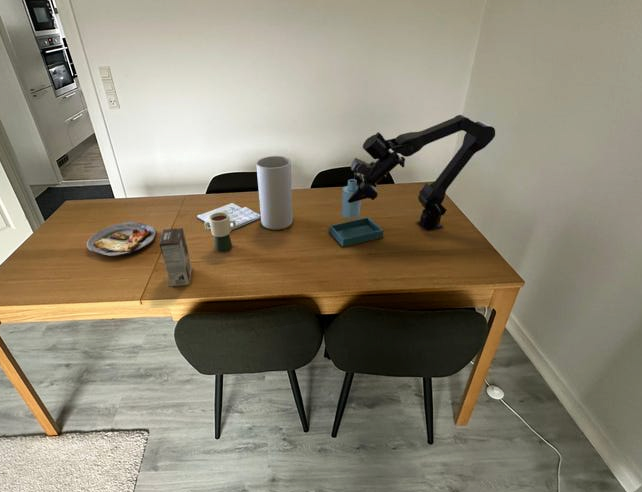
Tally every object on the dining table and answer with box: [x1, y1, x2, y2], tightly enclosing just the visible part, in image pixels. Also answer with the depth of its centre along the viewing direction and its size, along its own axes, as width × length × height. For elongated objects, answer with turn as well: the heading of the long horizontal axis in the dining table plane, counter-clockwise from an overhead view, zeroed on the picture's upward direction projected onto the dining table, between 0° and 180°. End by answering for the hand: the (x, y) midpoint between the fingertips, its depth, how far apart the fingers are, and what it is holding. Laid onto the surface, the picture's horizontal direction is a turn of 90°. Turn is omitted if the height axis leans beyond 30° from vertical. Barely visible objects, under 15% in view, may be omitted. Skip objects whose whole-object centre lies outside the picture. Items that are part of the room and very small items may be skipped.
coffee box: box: [158, 227, 193, 287], centre depth 119 cm, size 9×6×16 cm
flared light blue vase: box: [341, 178, 362, 219], centre depth 135 cm, size 6×6×13 cm
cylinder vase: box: [255, 155, 294, 231], centre depth 143 cm, size 12×12×25 cm
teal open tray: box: [328, 216, 384, 248], centre depth 138 cm, size 16×11×3 cm
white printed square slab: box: [197, 202, 261, 231], centre depth 155 cm, size 19×20×2 cm
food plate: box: [86, 221, 158, 257], centre depth 144 cm, size 25×23×4 cm
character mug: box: [204, 212, 237, 252], centre depth 133 cm, size 11×7×13 cm, turn 90°
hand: (347, 197), depth 135 cm, fingers closed on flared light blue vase, 6 cm apart
